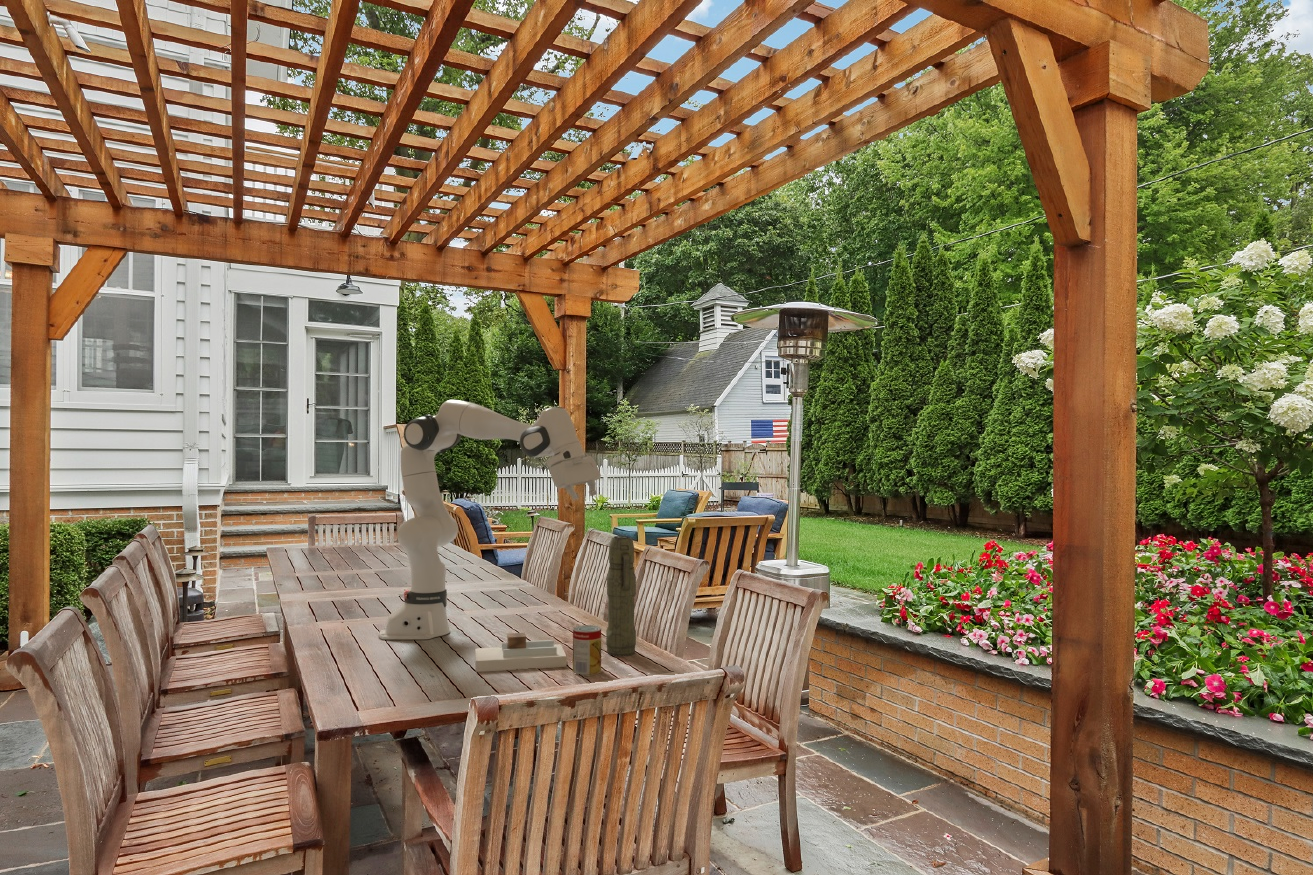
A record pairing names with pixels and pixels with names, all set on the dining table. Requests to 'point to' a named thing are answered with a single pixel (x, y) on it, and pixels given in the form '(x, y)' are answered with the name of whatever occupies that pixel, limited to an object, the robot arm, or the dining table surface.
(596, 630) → the canned food
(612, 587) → the thermos
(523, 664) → the channel
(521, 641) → the walnut block
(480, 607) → the dining table surface
